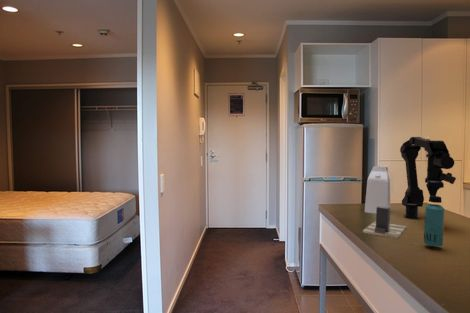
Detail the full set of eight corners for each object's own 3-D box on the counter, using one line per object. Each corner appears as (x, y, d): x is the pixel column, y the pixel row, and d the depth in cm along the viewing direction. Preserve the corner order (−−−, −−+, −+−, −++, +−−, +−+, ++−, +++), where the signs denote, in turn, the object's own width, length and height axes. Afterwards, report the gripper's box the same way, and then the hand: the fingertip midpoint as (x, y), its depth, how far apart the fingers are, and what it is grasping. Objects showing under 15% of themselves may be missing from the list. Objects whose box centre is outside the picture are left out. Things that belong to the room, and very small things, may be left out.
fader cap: (377, 228, 146) (378, 206, 145) (389, 230, 143) (390, 207, 142) (375, 230, 143) (376, 207, 142) (387, 231, 140) (388, 208, 139)
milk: (390, 211, 187) (392, 166, 186) (387, 214, 178) (389, 167, 176) (368, 208, 194) (369, 165, 192) (364, 212, 184) (366, 166, 183)
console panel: (374, 223, 159) (374, 217, 159) (406, 228, 151) (406, 222, 150) (362, 232, 143) (362, 225, 143) (397, 238, 135) (397, 231, 135)
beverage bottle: (440, 246, 126) (442, 195, 125) (445, 251, 120) (447, 198, 118) (421, 244, 128) (423, 194, 127) (425, 249, 122) (427, 197, 121)
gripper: (458, 169, 140) (456, 205, 140) (452, 166, 156) (450, 198, 157) (428, 168, 145) (426, 202, 145) (425, 165, 161) (424, 196, 162)
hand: (433, 200), depth 152 cm, fingers closed
